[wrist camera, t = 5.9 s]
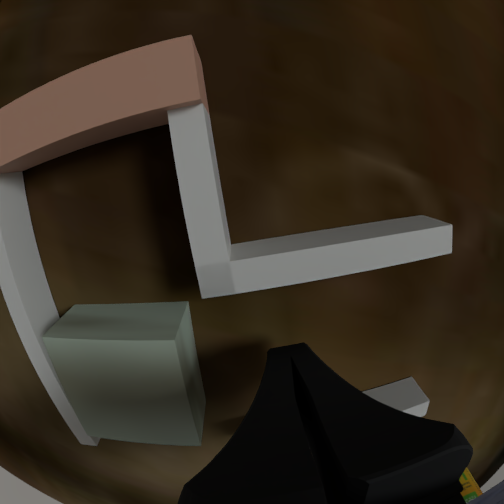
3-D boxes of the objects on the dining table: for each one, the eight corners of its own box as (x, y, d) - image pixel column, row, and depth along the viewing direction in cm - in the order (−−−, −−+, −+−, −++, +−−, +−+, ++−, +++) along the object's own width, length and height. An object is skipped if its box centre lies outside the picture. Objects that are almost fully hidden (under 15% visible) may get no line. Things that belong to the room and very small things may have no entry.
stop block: (209, 115, 9) (200, 99, 7) (7, 178, 9) (-32, 183, 7) (201, 63, 9) (191, 34, 7) (2, 134, 9) (-36, 132, 7)
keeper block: (206, 397, 13) (200, 445, 10) (107, 393, 13) (87, 435, 10) (188, 298, 11) (174, 340, 9) (77, 302, 11) (41, 336, 8)
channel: (409, 390, 13) (425, 415, 11) (100, 430, 13) (89, 456, 11) (409, 101, 9) (438, 91, 8) (7, 178, 9) (-23, 182, 8)
